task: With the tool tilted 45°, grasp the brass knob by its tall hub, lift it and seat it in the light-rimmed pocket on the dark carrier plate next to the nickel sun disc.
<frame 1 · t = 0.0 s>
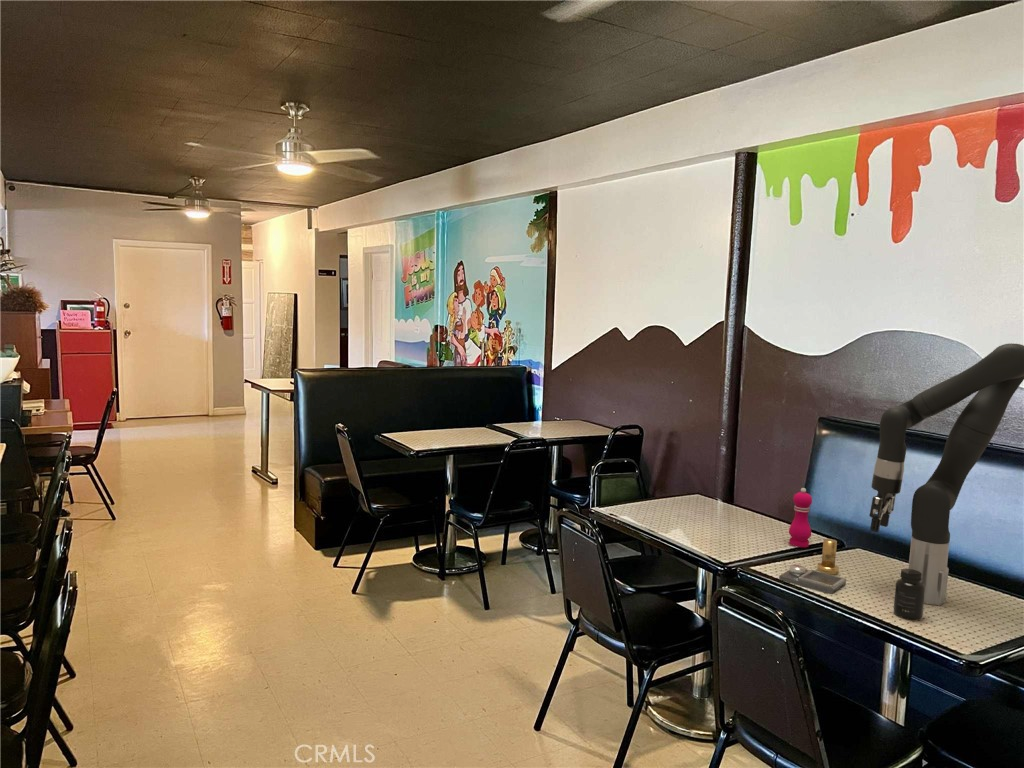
hand: (878, 528, 210), 17 cm above the table, tool pointing down, fingers open, 8 cm apart
carrier: (812, 581, 213), on the table
supplement bottle: (907, 616, 191), on the table
pepper mill: (799, 545, 249), on the table
brass knob: (827, 572, 222), on the table
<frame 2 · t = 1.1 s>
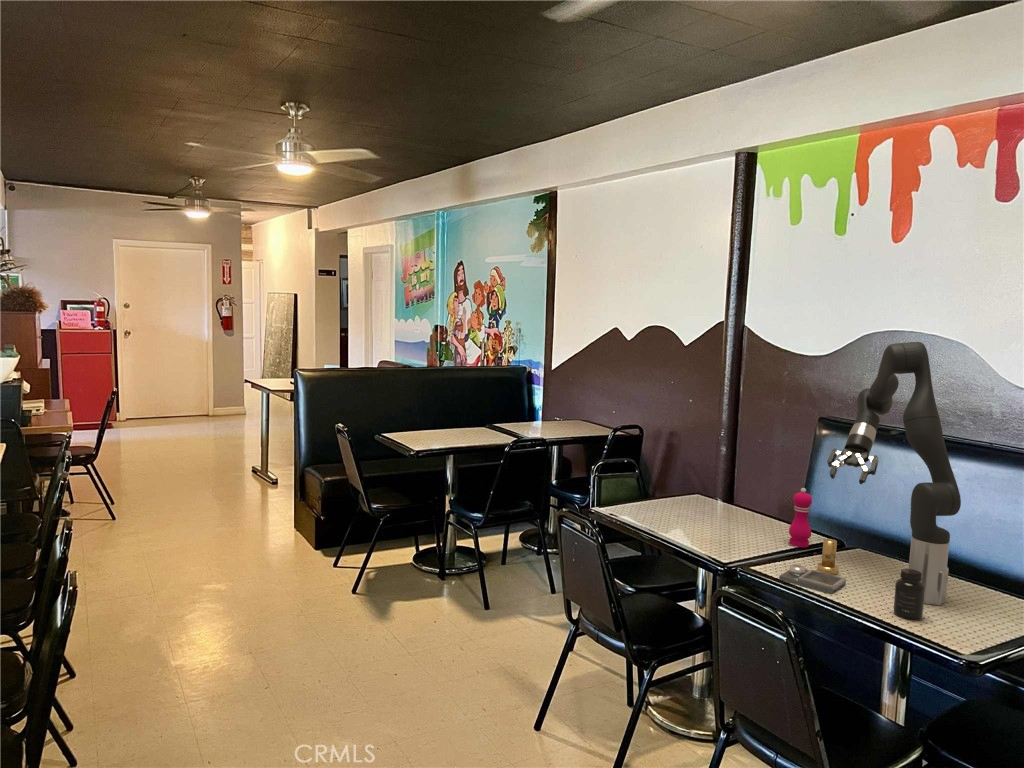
hand: (846, 480, 228), 27 cm above the table, tool tilted 45°, fingers open, 8 cm apart
nothing on the table moved.
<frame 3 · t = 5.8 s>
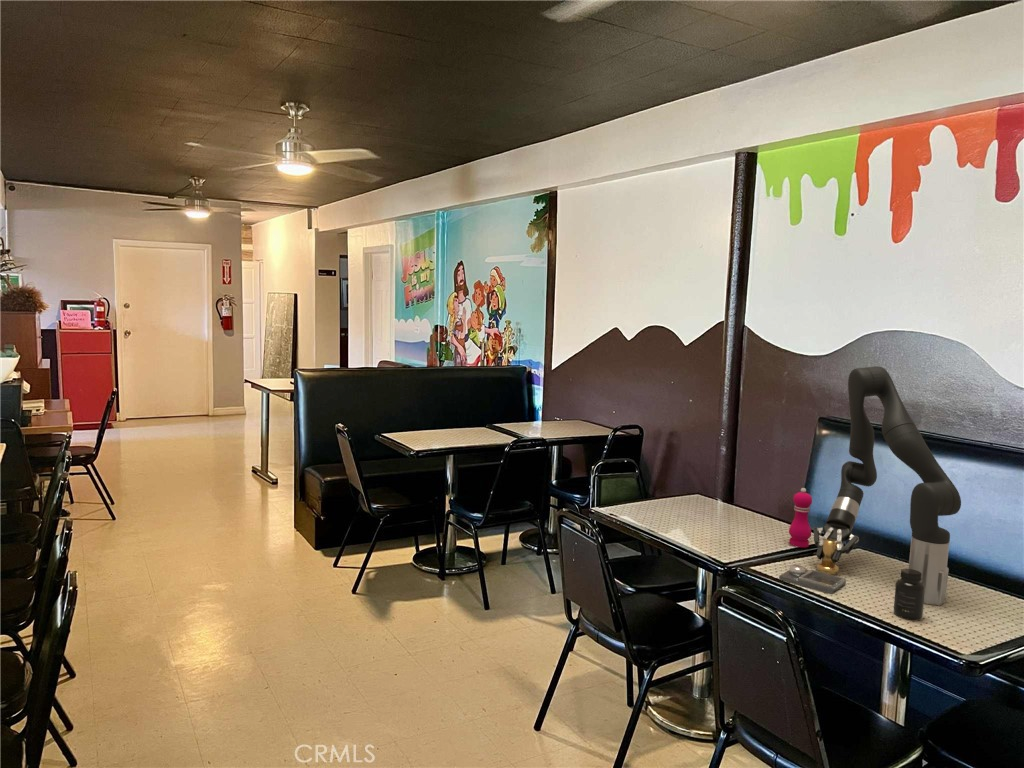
hand: (826, 560, 220), 4 cm above the table, tool tilted 45°, fingers closed on brass knob, 3 cm apart
brass knob: (827, 572, 222), on the table, touching gripper
everything else where it was.
when the fingers open (7 cm above the table, at t = 10.7 s): brass knob drops 1 cm, resting on carrier.
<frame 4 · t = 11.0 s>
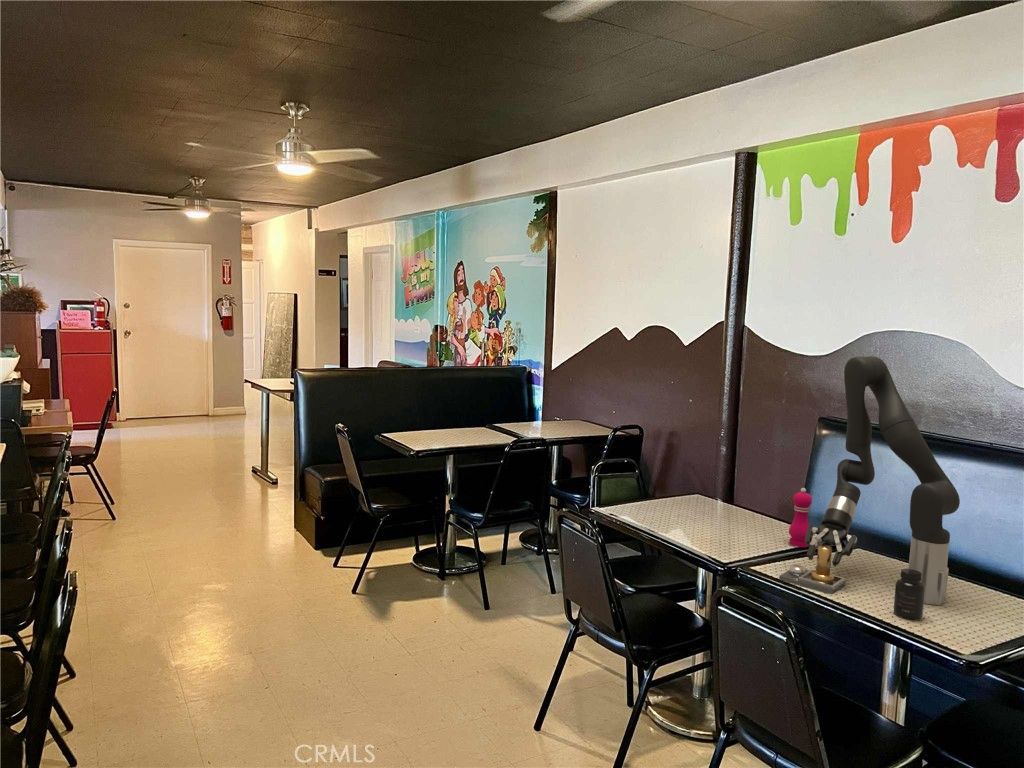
hand: (821, 561, 209), 7 cm above the table, tool tilted 45°, fingers open, 6 cm apart
brass knob: (822, 580, 211), point 1 cm above the table, touching carrier
everything else where it was.
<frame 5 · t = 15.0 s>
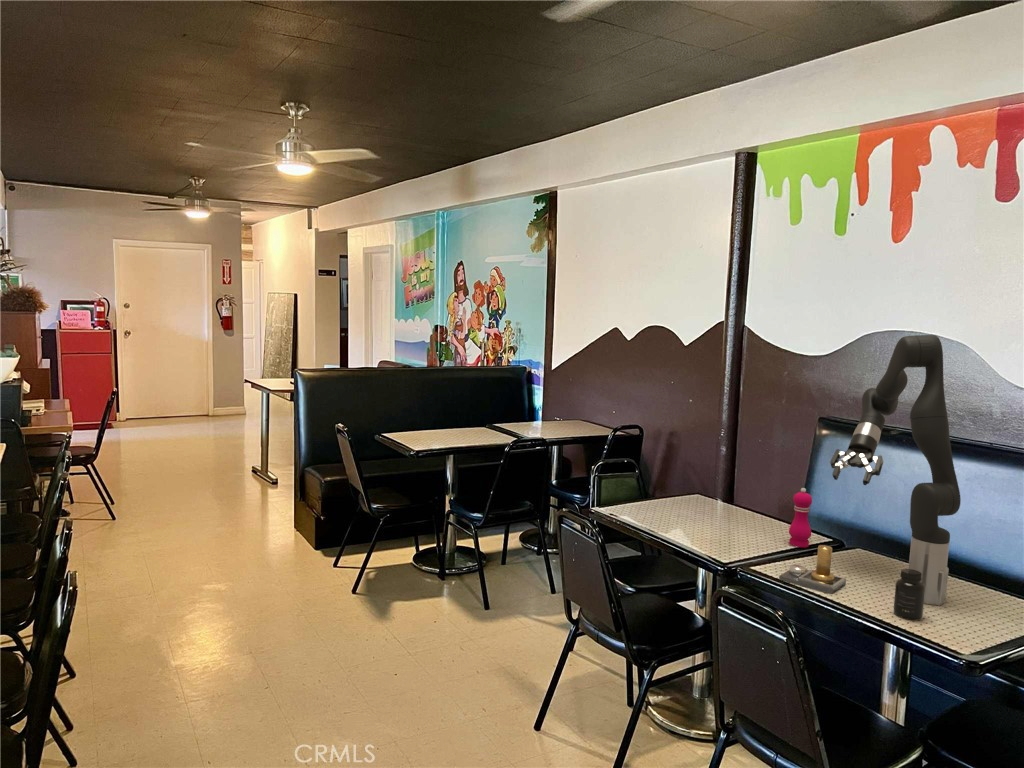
hand: (849, 480, 220), 29 cm above the table, tool tilted 45°, fingers open, 8 cm apart
nothing on the table moved.
at the end: brass knob 0.2 cm from the target spot on the carrier, point 1.2 cm above the carrier's base; brass knob tilted 0°; the gripper is holding nothing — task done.
